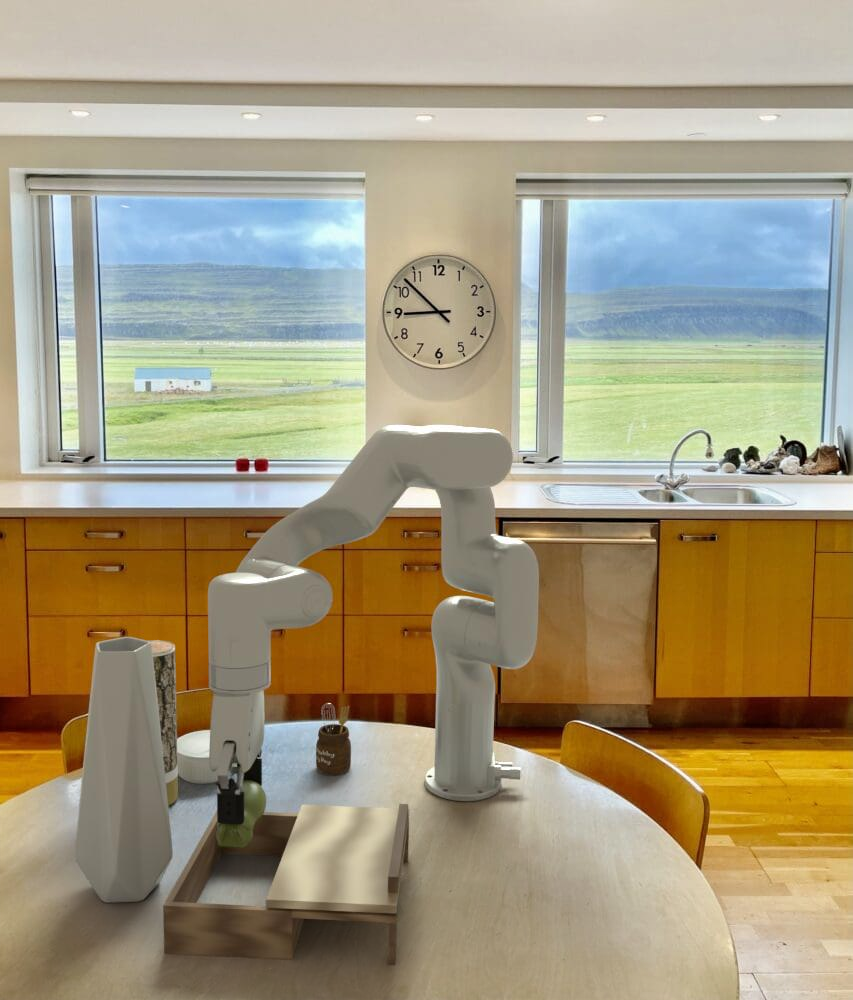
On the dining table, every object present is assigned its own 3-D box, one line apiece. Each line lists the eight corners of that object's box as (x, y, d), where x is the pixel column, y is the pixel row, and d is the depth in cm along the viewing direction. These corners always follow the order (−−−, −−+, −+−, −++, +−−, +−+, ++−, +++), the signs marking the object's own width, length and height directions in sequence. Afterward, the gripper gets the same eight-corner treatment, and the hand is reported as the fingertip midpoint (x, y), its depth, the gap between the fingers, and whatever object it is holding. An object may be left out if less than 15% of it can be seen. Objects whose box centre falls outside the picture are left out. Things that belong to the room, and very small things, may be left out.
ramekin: (232, 788, 148) (232, 757, 148) (164, 786, 149) (163, 756, 148) (247, 759, 160) (246, 730, 159) (183, 757, 160) (182, 728, 159)
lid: (409, 815, 127) (409, 795, 127) (396, 913, 105) (396, 889, 104) (302, 811, 128) (302, 791, 128) (266, 907, 105) (265, 883, 105)
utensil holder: (336, 758, 160) (337, 692, 159) (359, 770, 156) (359, 702, 154) (308, 767, 156) (309, 700, 155) (331, 780, 152) (331, 711, 150)
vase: (74, 873, 123) (65, 636, 118) (163, 857, 127) (158, 627, 123) (78, 925, 112) (69, 664, 107) (176, 905, 116) (171, 654, 111)
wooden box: (408, 858, 128) (409, 818, 127) (395, 964, 106) (396, 916, 105) (217, 850, 130) (217, 810, 129) (164, 953, 107) (163, 905, 106)
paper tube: (165, 814, 139) (161, 655, 136) (124, 808, 141) (119, 651, 137) (185, 793, 146) (182, 642, 142) (146, 789, 147) (142, 638, 144)
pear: (270, 773, 119) (251, 824, 110) (271, 807, 121) (252, 860, 112) (228, 770, 120) (205, 821, 110) (230, 804, 121) (207, 856, 112)
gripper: (228, 651, 122) (228, 773, 125) (188, 697, 105) (190, 838, 108) (283, 653, 122) (283, 775, 124) (253, 699, 105) (254, 840, 107)
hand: (240, 804), depth 116 cm, fingers closed on pear, 9 cm apart
